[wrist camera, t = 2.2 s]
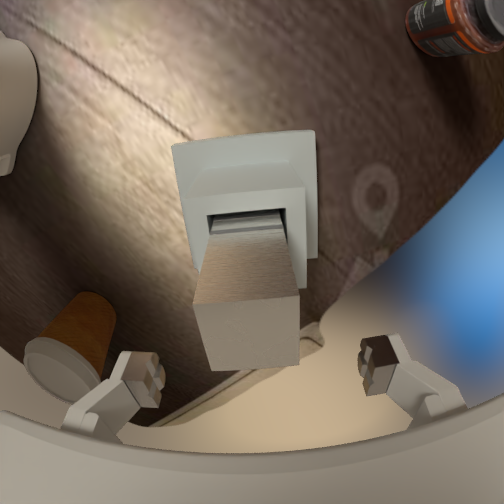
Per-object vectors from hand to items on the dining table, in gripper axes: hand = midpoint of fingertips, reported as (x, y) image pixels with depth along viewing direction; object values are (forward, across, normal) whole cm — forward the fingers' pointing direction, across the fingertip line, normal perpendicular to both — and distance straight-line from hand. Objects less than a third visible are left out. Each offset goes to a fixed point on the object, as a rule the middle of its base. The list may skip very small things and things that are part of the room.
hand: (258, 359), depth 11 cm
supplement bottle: (+19, -18, -17) cm, 32 cm away
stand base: (+19, +1, 0) cm, 19 cm away
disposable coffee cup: (+19, +22, +12) cm, 31 cm away
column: (+17, +1, 0) cm, 17 cm away
